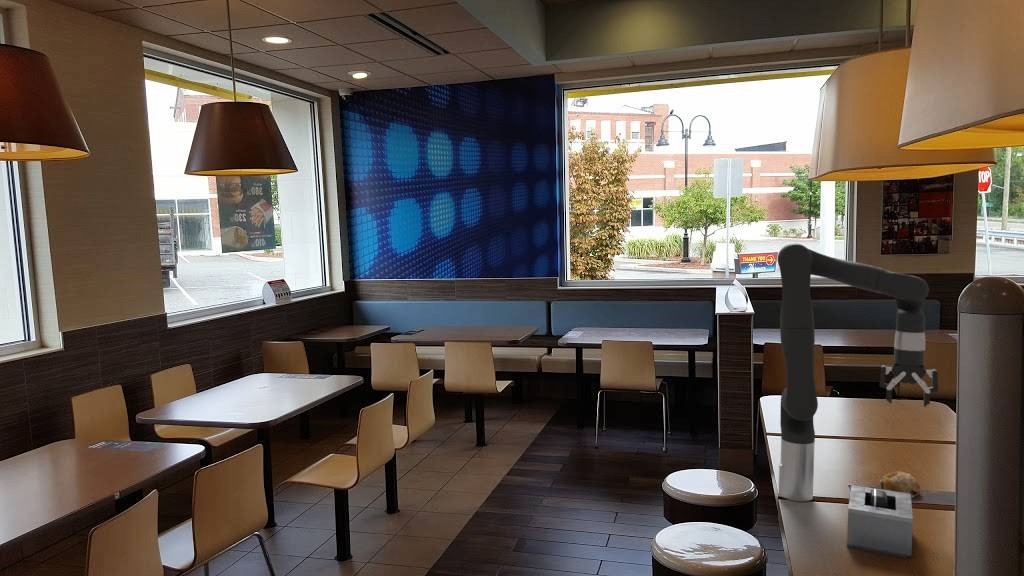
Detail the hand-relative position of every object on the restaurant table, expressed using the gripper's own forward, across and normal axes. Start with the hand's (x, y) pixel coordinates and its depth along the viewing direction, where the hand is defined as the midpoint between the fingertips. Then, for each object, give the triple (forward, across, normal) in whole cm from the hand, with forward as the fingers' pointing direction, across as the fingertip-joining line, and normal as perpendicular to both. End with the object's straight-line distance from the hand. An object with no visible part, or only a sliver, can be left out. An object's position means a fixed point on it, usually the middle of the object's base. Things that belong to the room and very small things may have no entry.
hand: (907, 404), depth 197 cm
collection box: (+30, -6, -25) cm, 40 cm away
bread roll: (+31, -1, +14) cm, 34 cm away
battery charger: (+30, -6, -25) cm, 39 cm away
